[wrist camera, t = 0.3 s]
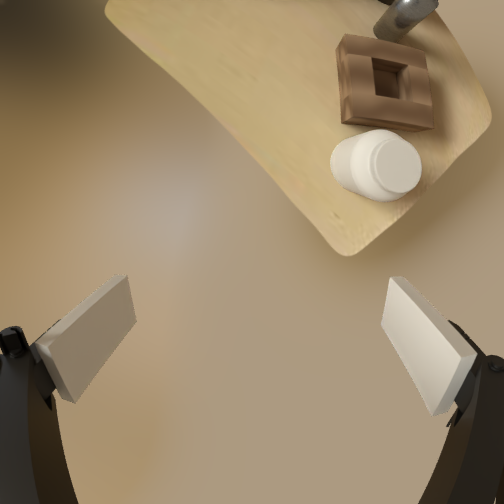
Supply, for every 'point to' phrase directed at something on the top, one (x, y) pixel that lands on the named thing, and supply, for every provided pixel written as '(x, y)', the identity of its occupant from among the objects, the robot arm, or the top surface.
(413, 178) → the pill bottle
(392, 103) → the socket block
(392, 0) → the mug
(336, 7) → the top surface
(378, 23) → the peg
